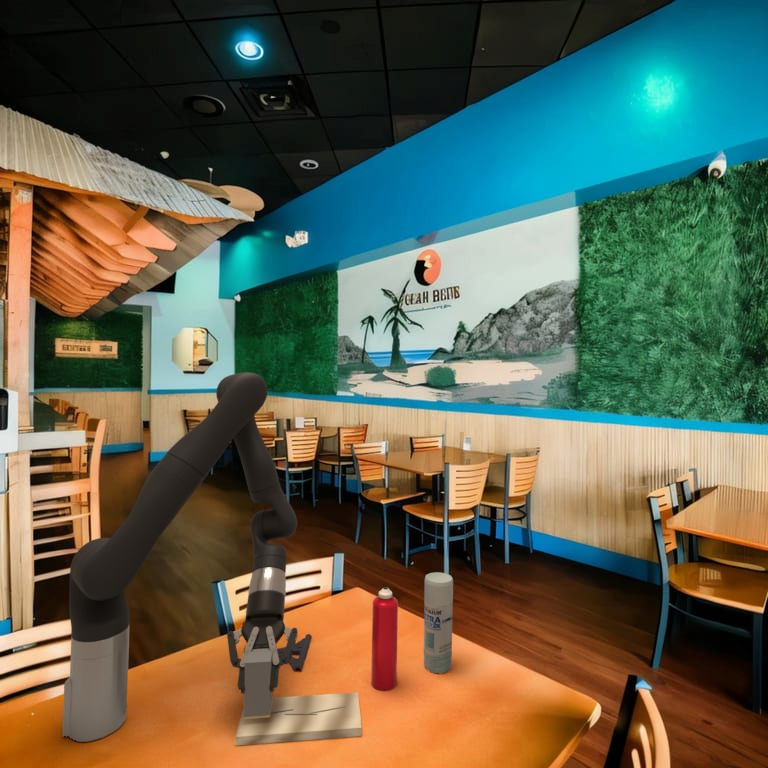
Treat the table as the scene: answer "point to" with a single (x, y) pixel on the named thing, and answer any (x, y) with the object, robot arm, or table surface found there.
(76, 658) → the robot arm
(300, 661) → the squeegee
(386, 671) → the bottle
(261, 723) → the board
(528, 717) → the table surface
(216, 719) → the table surface
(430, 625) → the spray paint can
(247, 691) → the block
